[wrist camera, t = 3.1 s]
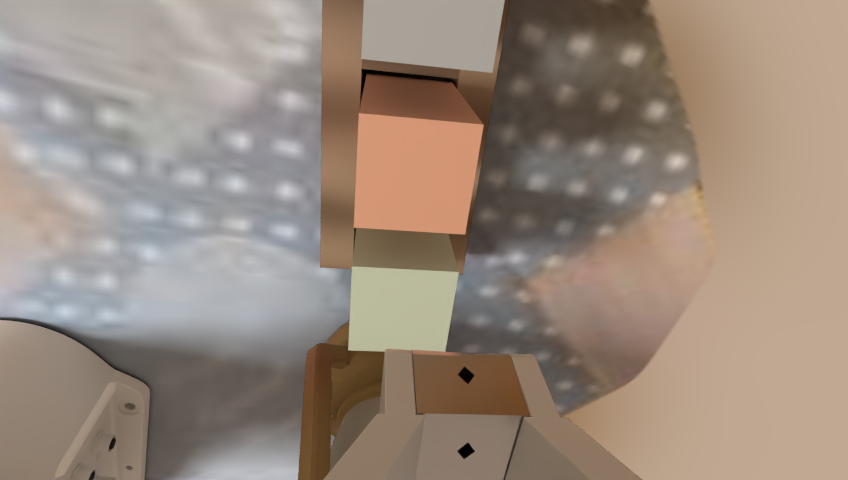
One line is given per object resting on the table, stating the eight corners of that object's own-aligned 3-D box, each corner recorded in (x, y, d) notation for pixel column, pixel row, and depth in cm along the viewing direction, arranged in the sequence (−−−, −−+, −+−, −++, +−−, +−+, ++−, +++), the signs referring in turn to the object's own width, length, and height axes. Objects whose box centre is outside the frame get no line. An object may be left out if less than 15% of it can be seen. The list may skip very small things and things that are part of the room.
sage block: (428, 257, 33) (444, 353, 24) (357, 253, 33) (348, 350, 24) (437, 192, 31) (458, 272, 22) (361, 186, 30) (351, 266, 21)
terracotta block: (441, 163, 30) (465, 234, 21) (362, 156, 29) (353, 227, 21) (451, 82, 28) (483, 124, 19) (366, 73, 27) (358, 113, 18)
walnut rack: (456, 254, 36) (462, 274, 33) (325, 246, 35) (320, 267, 32) (508, -68, 26) (522, -74, 24) (329, -94, 25) (323, -103, 23)
